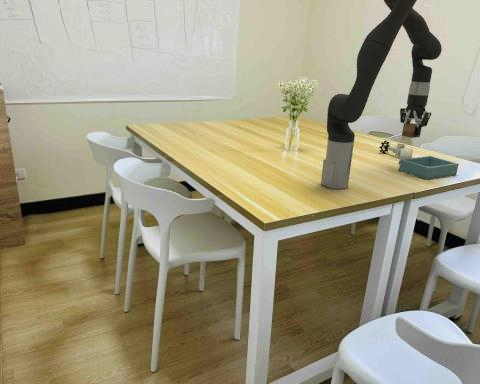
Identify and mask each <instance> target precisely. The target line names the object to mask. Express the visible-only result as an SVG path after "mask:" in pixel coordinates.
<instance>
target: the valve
mask: <svg viewBox="0 0 480 384" xmlns="http://www.w3.org/2000/svg"><path fill="white" fill-rule="evenodd" d="M401 148H406V144H403V143H397V144H396V146H393V147H392V146H391V145H390V141H388V140H384V141H383V142H381V143H380V145H379V149H380V150H379V152H380V153H382V154H385V153H387V152H389V151H391V152H392V153H395V155H394V156H395V157H394V158H396V159H400V153H401Z"/></svg>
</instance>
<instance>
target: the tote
mask: <svg viewBox="0 0 480 384" xmlns="http://www.w3.org/2000/svg"><path fill="white" fill-rule="evenodd" d="M459 165H460V164H459V163H457V162H453V161H451V160H446V159H442V158H439V157H435V156H432V155H428V156H419V157H412V158H408V159H401V161H400V164H399V168H398V171H399V172H402V173H404V174H407V175H410V176H413V177H416V178H418V179H422V180H425V181H429V180H436V179H442V178H447V177H454V176H455V177H456V176H457V173H458V170H459V169H458V168H459Z"/></svg>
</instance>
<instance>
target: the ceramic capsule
mask: <svg viewBox="0 0 480 384" xmlns="http://www.w3.org/2000/svg"><path fill="white" fill-rule="evenodd" d="M413 152H414V149H413V148H409V147H405V148H401V153H400V158H398V159H399V161H398V164H399V165H400V161H401V159H408V158H413V154H414V153H413Z"/></svg>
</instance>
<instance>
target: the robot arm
mask: <svg viewBox="0 0 480 384" xmlns="http://www.w3.org/2000/svg"><path fill="white" fill-rule="evenodd" d="M383 2H384V4H385V5H386V6H387V7H388V9H389V10H390V12H389V13H388V14H387V16H385V18H384V19H383V20H382V21H381V22H379V24H377V25H376V26H375V27H374V28H372V29H371V31H370V32H368V34H367V35H366V36H365V38H364V41H363V43H362V45H361V46H360V49H359V51H358V53H357V58H356V78H355V80H354V84H353V86H352V88H351V90H350V92H349V93H348V94H346V93H337V94H334V95H333V96H332V98H331V99H330V101H329V102H328V108H327V116H326V117H327V118H326V132H327V145H326V155H325V159H323V160H322V168H321V169H322V170H321V180H320V181H321V182H320V184H321V185H322V186H325V187H326V188H329V189H332V190H333V189H336V190H342V189H347V188H349V185H350V184H349V181H350V176H351V175H350V174H351V166H352V160H353V152H354V144H355V136H356V134H355V132H354V131H353V130H352V129H351V128H350V125H349V124H352V123H355V122H357V121H358V120H359V119H360V117H361V116H362V115H363V112H364V110H365V107H366V105H367V103H368V100H369V97H370V94H371V91H372V89H373V86H374V84H375V81H376V80H377V78H378V75H379V73H380V71H381V69H382V67H383V65H384V63H385V61H386V60H387V57H388V55H389V54H390V51H391V48H392V47H393V44H394V42H395V40H396V37H397V36H398V34H399V32H400V31H401V28H402V27H403V29H404V30H405V32H406V34H407V37H408V38H409V40H410V43H411V45H412V48H411V61H412V62H411V65H412V74H411V80H410V81H411V82H410V85H409V89H408V94H407V101H406V104H407V106H406V107H401V108H400V109H399V119H400V120H399V121H400V123H401V124H403V125H404V124H409V123H412V121H413V120H414V122H415V124H416V128H415V134H414V136H416V138H418V137H417V136H419V135H420V136H421V132H422V128H423V127H427V125H428V123H429V120H430V119H431V116H432V112H428V111H426V107H427V104H428V100H429V94H430V88H431V79H432V75H433V69H432V67H431V66H427V65H425V64H424V62H423V60H424V61H435V60H436V59H438V58H439V57H440V56H441V53H442V50H443V49H442V44H441V42H440V40H439V39H438V38H437V37H436V36H435V34H433V33H432V32H431V30H430V28H429V26H428V23H427V21H426V19H425V18H424V17H423V16H422V15H421V14H420V13H419V12H418V11H417V10H416V9H414V6H415V4H416V2H417V0H383Z"/></svg>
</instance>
